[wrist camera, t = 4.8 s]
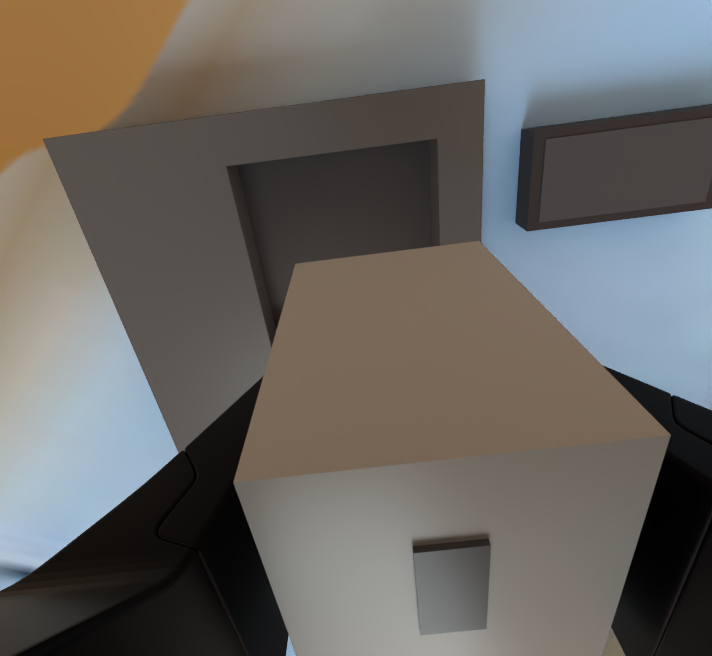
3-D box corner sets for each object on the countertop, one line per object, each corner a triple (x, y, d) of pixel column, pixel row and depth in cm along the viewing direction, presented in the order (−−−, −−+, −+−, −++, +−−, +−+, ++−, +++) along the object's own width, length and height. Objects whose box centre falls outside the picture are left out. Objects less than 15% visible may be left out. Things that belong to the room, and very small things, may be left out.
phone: (689, 201, 17) (713, 208, 16) (515, 223, 17) (527, 231, 16) (714, 103, 15) (743, 104, 14) (521, 129, 16) (535, 131, 14)
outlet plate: (465, 456, 23) (475, 485, 22) (215, 484, 24) (205, 515, 22) (467, 81, 15) (484, 79, 13) (77, 134, 15) (42, 138, 13)
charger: (475, 390, 11) (604, 666, 6) (323, 407, 11) (306, 693, 6) (479, 241, 9) (677, 441, 4) (295, 263, 9) (230, 490, 4)
